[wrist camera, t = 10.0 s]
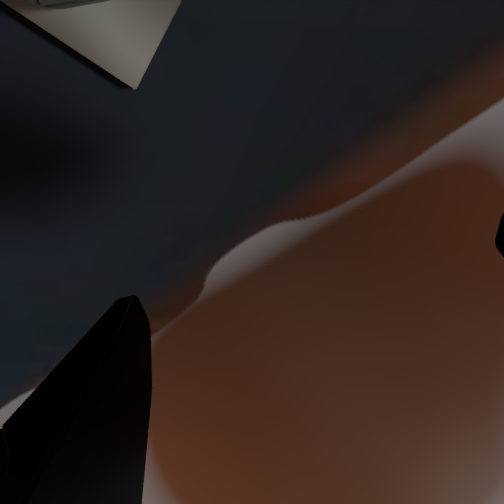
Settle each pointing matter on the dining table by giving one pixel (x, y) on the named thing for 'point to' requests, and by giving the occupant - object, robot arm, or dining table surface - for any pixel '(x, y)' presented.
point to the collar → (105, 30)
